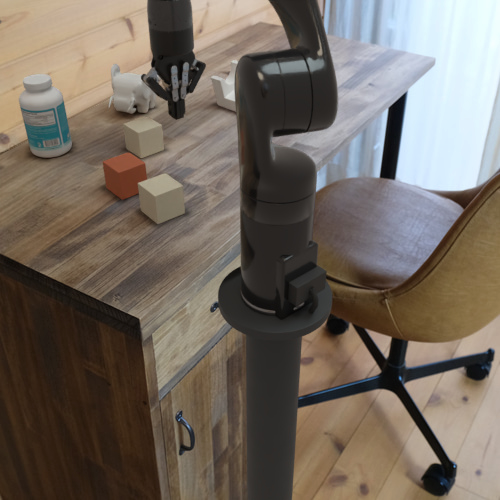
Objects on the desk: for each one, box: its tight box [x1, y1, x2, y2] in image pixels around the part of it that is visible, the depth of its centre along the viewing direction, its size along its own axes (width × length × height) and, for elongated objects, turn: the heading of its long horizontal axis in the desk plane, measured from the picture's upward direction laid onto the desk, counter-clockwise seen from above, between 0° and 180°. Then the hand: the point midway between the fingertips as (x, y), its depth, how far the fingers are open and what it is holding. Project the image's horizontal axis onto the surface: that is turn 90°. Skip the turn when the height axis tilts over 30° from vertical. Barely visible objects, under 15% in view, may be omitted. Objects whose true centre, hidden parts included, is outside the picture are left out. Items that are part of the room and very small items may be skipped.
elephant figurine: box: [108, 63, 162, 115], centre depth 129 cm, size 10×12×9 cm
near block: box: [138, 172, 186, 225], centre depth 99 cm, size 5×5×5 cm
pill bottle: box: [18, 73, 73, 159], centre depth 114 cm, size 8×7×14 cm
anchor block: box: [102, 151, 148, 201], centre depth 105 cm, size 5×5×5 cm
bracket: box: [210, 59, 239, 113], centre depth 130 cm, size 13×7×8 cm, turn 49°
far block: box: [122, 115, 165, 159], centre depth 116 cm, size 5×5×5 cm
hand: (177, 117), depth 120 cm, fingers closed
